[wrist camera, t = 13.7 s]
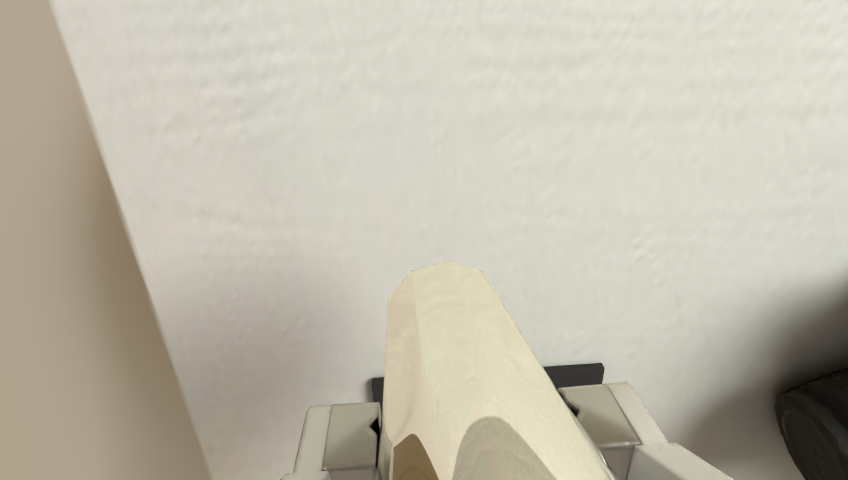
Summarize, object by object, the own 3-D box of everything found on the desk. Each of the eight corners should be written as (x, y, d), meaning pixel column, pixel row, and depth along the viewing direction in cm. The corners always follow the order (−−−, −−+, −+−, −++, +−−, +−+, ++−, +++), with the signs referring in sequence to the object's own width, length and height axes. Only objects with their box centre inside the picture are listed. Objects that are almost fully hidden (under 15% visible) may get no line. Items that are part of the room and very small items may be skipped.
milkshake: (431, 409, 15) (529, 1009, 6) (329, 295, 12) (233, 994, 4) (556, 341, 14) (883, 902, 5) (472, 207, 12) (797, 798, 3)
